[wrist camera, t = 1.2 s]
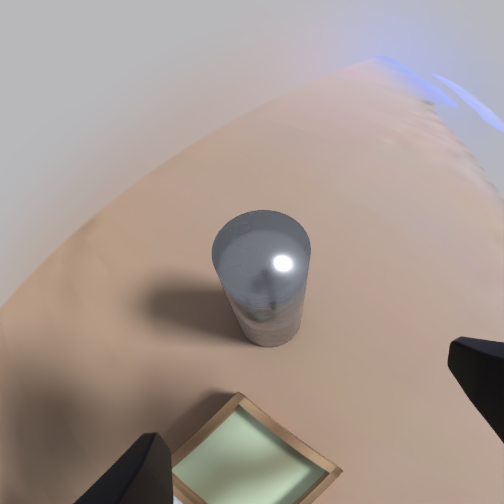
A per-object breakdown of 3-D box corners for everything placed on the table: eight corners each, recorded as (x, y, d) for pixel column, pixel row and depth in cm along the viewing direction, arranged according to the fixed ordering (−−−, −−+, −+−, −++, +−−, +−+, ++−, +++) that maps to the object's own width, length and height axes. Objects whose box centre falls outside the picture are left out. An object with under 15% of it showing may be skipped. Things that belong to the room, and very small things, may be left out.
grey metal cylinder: (312, 313, 22) (329, 241, 14) (273, 359, 20) (265, 314, 12) (267, 280, 24) (256, 196, 16) (227, 321, 22) (192, 254, 14)
